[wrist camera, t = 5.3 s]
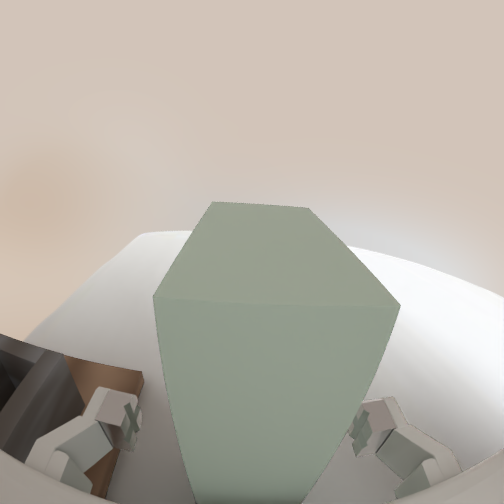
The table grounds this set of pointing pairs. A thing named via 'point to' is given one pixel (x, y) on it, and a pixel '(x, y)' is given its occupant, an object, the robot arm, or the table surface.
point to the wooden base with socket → (53, 399)
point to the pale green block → (266, 350)
